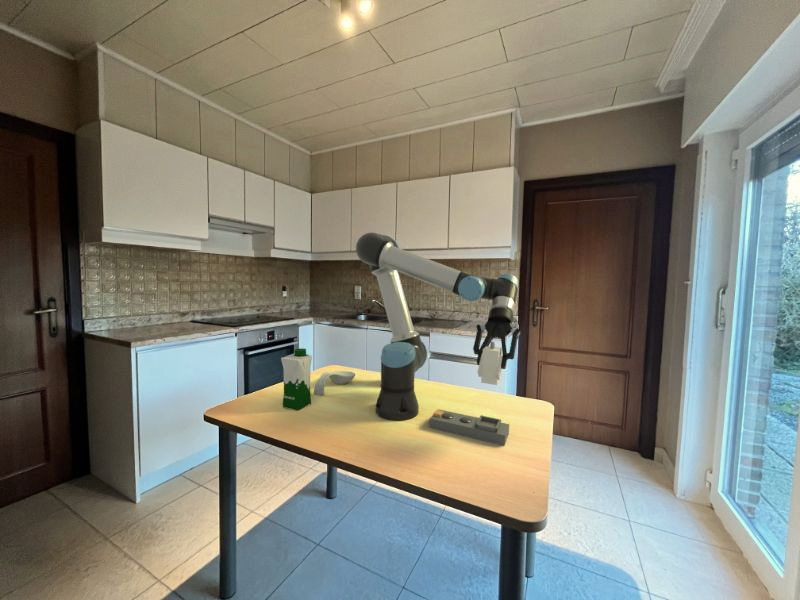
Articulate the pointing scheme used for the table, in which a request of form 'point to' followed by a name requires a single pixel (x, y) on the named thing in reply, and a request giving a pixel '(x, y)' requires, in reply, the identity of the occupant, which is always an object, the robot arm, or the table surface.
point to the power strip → (471, 426)
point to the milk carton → (296, 380)
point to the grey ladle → (336, 377)
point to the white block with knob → (490, 364)
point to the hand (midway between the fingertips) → (488, 375)
